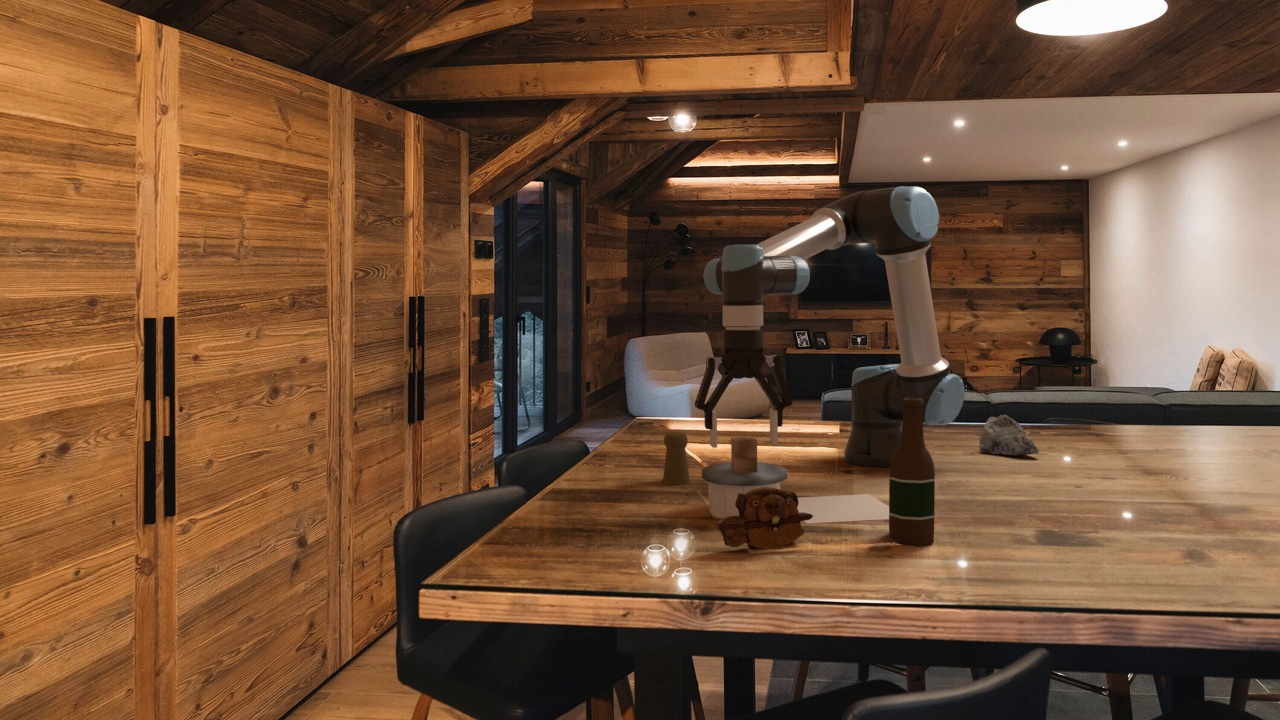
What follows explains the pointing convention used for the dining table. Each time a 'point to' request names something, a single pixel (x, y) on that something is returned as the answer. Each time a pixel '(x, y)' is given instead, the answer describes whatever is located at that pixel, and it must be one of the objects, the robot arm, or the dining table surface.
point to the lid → (744, 467)
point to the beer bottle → (912, 482)
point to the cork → (676, 459)
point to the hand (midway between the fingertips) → (743, 445)
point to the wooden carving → (764, 519)
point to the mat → (843, 508)
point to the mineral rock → (1005, 438)
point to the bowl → (728, 498)
